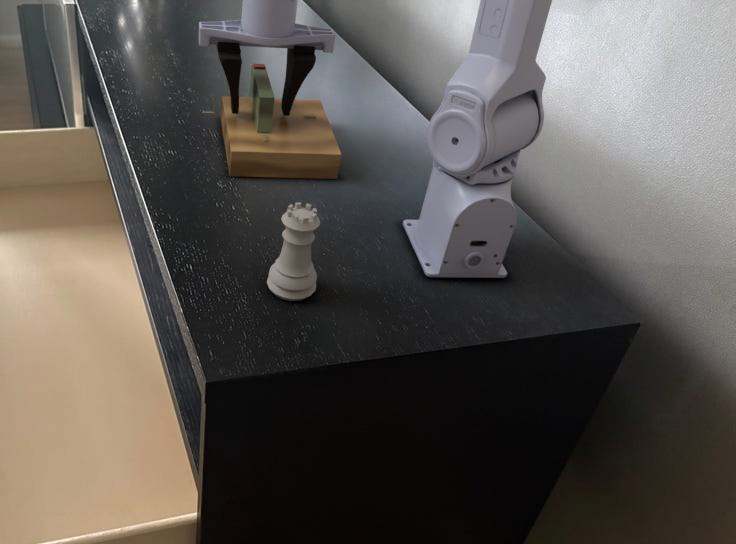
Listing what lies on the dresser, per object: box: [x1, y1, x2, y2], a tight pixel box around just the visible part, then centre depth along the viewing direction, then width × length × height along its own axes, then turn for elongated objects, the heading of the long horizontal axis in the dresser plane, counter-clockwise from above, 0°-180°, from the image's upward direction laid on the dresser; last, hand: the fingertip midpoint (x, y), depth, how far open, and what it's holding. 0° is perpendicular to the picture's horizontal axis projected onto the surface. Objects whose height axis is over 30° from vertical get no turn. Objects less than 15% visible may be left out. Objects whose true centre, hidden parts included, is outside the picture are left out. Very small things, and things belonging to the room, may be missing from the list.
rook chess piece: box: [266, 201, 321, 302], centre depth 65 cm, size 4×4×8 cm
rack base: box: [201, 95, 343, 180], centre depth 87 cm, size 16×15×3 cm
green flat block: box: [248, 63, 276, 133], centre depth 86 cm, size 9×2×4 cm, turn 6°
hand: (260, 111), depth 87 cm, fingers open, 5 cm apart
